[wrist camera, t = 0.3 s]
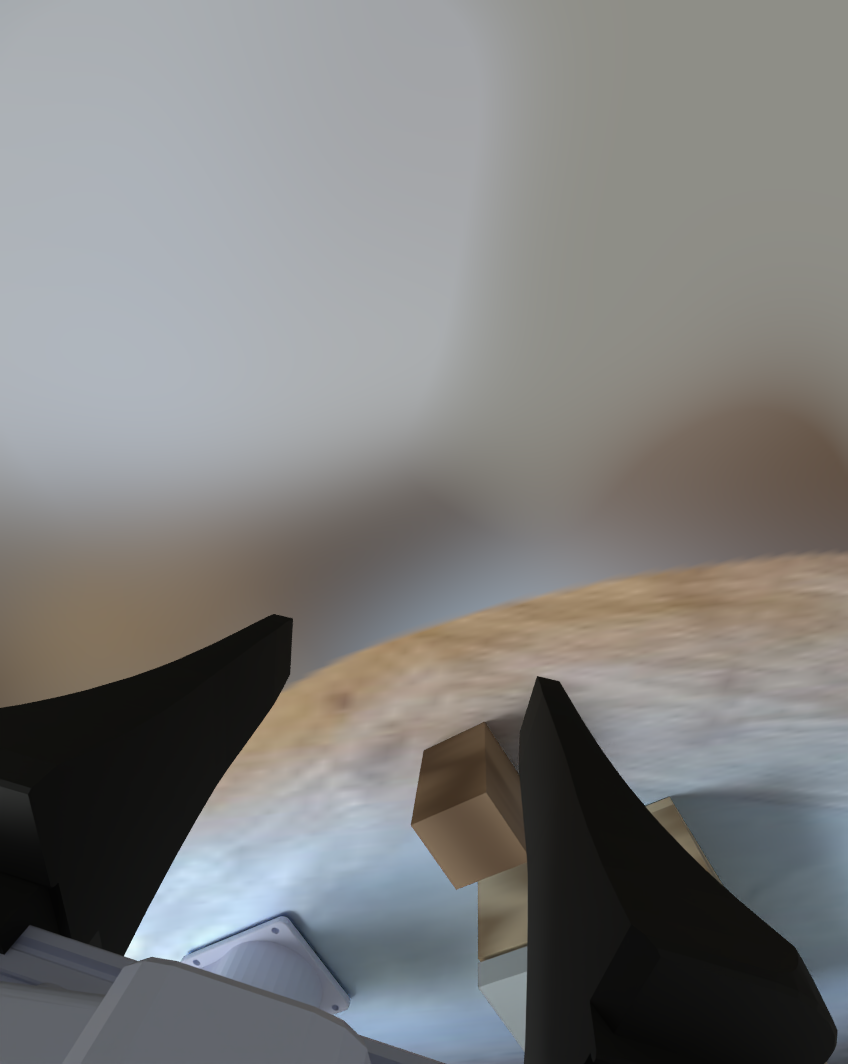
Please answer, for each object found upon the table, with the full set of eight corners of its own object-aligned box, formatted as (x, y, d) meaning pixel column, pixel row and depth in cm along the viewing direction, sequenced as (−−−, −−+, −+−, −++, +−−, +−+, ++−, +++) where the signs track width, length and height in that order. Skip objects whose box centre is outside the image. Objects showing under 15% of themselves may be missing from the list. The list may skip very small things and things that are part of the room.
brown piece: (591, 1036, 28) (612, 1147, 24) (477, 871, 26) (477, 958, 22) (782, 982, 25) (845, 1095, 21) (669, 796, 24) (712, 877, 19)
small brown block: (460, 803, 26) (456, 889, 21) (423, 750, 25) (410, 824, 20) (521, 777, 25) (531, 860, 20) (484, 721, 24) (486, 792, 19)
